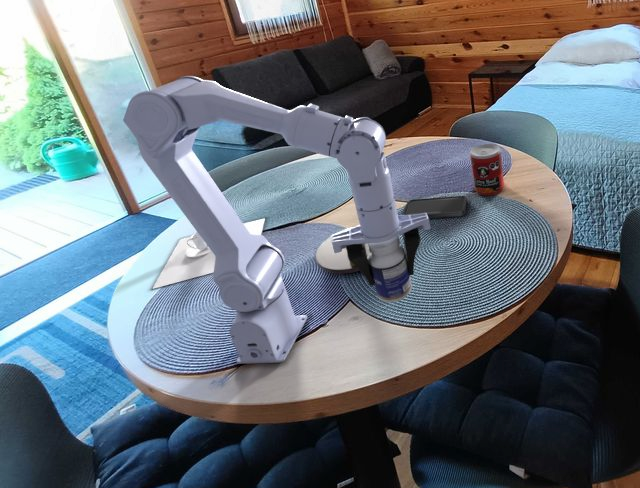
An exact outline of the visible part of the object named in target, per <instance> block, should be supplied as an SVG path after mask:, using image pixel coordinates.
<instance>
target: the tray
mask: <svg viewBox="0 0 640 488" xmlns="http://www.w3.org/2000/svg"><path fill="white" fill-rule="evenodd" d="M356 226H357V225H354V226H351V227H347V228H344V229H342V230H339V231H338V232H336V233H333V234H332V235H330V236H329V237H327V238H326V239H325V240H323V242H322V243H321V244H320V245H319V246H318V247H317V249H316V252H315V260H316V261H315V262H316V264H317V266H318V267H319V268H320V269H321V270H323V271H324V272H326V273H330V274H335V275H343V274H351V273H356V272H359V271H360V270H359V269H358V267H356V266H355V265H354V264H353V263H351V262H350V260H349V259H348V254H347V249H346V248H344V249H342V251H341V252H338V253H334V250H333V246H332V236H333V235H336V234H340V233H342V232H345V231H347V230H350V229H352V228H354V227H356ZM365 248H366V253H367V257H368V261H369V255H370V253H371V252H370V251H369V246H368V243H367V244H365ZM360 272H361V271H360Z"/></svg>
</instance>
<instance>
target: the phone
mask: <svg viewBox="0 0 640 488" xmlns="http://www.w3.org/2000/svg"><path fill="white" fill-rule="evenodd" d="M467 199H468V198H467V196H465V195H457V196H455V195H454V196H444V197H442V196H441V197H427V198H415V199H414V198H413V199H409V200H407V202H406V204H405V206H404V209H403V212H402V215H415V214H422V213H427V215H428V218H429V219H439V218H440V219H441V218H452V217H454V218H455V217H463V216H465V215H466V211H467V203H468V201H467Z"/></svg>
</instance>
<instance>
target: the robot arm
mask: <svg viewBox="0 0 640 488" xmlns="http://www.w3.org/2000/svg"><path fill="white" fill-rule="evenodd" d="M122 121H123V123H124V124H125V125H126V127H127V128H128V129H129V131H130V132H131V133H132V135H133V136H134V137H135V139H136V142H137V146H138V149H139V154H140V156H141V158H142V159H143V161H144V163H145V164H146V165H147V166H148V167H149V169H150V171H151V172H152V173H153V174H154V176H155V177H156V178H157V180H158V181H159V183H160V184H161V185H162V187H163V188H164V189H165V191H166V192H167V193H168V195H169V196H170V197H171V199H172V200H173V201H174V204H176V205H177V207H178V208H179V209H180V211H181V213H182V214H183V215H184V216H185V218H186V219H187V221H188V222H189V223H190V225H191V226H192V227H193V228H194V229H195V231H196V232H198V233H199V235H200V236H201V238H202V239H203V240H204V242H205V243H206V244H207V246H208V247H209V248H210V250H211V251H212V252H213V254H214V255H215V266H214V272H213V273H212V280H213V282H214V284H216V285H217V287H218V290H219V297H220V300H221V301H222V302H223V304H224V305H225V306H227V307H228V308H230V309H231V310H233V311H235V312H236V314H235V317H234V320H233V322H232V324H231V326H230V329H229V336H230V338H231V341H232V343H233V345H234V348H235V350H236V352H237V355H238V357H237V358H236V360H235V362H236V364H238V365H240V364H241V365H242V364H270V363H271V364H273V363H274V364H275V363H283V362H284V361H286V359H287V356H289V353H290V351H291V350H292V348H293V346H294V344H295V342H296V340H297V338H298V337H299V335H300V333H301V332H302V329H303V328H304V326H305V324H306V322H307V320H308V315H305V314H303V315H295V313H294V309H293V306H292V304H291V301H290V298H289V294H288V291H287V289H286V286H285V284H284V280H283V278H284V277H283V274H282V271H283V269H284V267H285V265H286V260H285V256H284V254H283V252H282V251H281V250H280V249H279V248H278V247H276V246H274V245H273V244H271V243H270V242H269V240H267V238H266V236H265V235H263V234H261V235H254V234H250V233H249V231H248V230H247V229H246V227H245V226H244V222H243V221H242V220H241V218H240V217H239V215H238V214H237V212H236V211H235V210H234V208H233V207H232V205H231V204H230V203H229V201H228V199H227V198H226V196H225V195H224V194H223V192H222V191H221V190H220V188H219V187H218V185H217V184H216V182H215V181H214V179H213V178H212V177H211V175H210V174H209V172H208V171H207V169H206V168H205V167H204V165H203V164H202V162H201V161H200V159H199V158H198V156H197V155H196V153H195V152H194V151H193V146H194V143H195V141H196V138H197V135H198V132H199V130H200V129H201V127H204V126H206V125H210V124H213V123H216V122H220V121H222V122H226V123H230V124H233V125H240V126H244V127H248V128H252V129H257V130H262V131H265V132H270V133H274V134H278V135H279V134H280V135H281V136H282V138H283V139H284V141H285V143H286V144H287V145H288V146H290V147H294V148H297V149H300V150H305V151H308V152H312V153H315V154H318V155H322V156H326V157H329V158H332V159H336V160H337V161H338V163H339V164H340V165H341V167H342V168H344V169H345V170H346V171H347V175H348V181H349V186H350V189H351V193H352V197H353V198H352V199H353V201H354V202H353V203H354V207H355V210H356V214H357V218H358V222H359V224H358V225H355V226H356V227H354V226H353V227H354V228H352V229H350V230H347V231H345V232H342V233H340V234H336V235H334V234H332V235H333V236H332V235H331V236H332V246H333V250H334V253H338V252H341V251H342V249H344V248H346V249H347V254H348V259H349V260H350V262H351V263H353V264H354V265H355V266H356V267H358V269H359V270H360V272H361V274H363V276H364V277H365V279H366V281H367V283H368V286H369V287H374V286H375V285H374V280H373V277H372V272H371V268H370V265H369V261H368V257H367V253H366V248H365V244H367V243H380V242H385V241H388V240H390V239H392V238H395V237H397V236H398V237H399V236H402V240H403V241H402V242H403V245H404V250H405V254H406V259H407V264H408V270H409V275H410V276H412V275H413V276H414V274H415V272H414V271H415V269H414V267H415V260H416V255H417V252H418V249H419V247H420V245H421V236H420V232H419V231H420V230H423V231H429V230H431V225H430V224H431V223H430V218H428V215H427V213H422V214H415V215H403V214H401V215H399V213H398V208H397V204H396V199H395V193H394V189H393V184H392V179H391V173H390V169H389V167H388V163H387V158H386V153H385V152H384V148H385V146H386V140H387V135H386V131H385V129H384V127H383V126H382V125H381V124H380V123H379V122H377V121H376V120H373V119H371V118H369V117H368V116H363V117H358V118H356V119H354V117H353V116H350V115H345V117H342V116H339V115H335V114H333V113H329V112H325V111H322V110H320V106H319V105H316V104H313V103H309V104H308V105H307V106H306V105H299V106H297V107H295V108H293V109H290V110H289V109H286V108H283V107H280V106H277V105H275V104H272V103H268V102H265V101H263V100H260V99H258V98H254V97H251V96H249V95H246V94H244V93H241V92H238V91H234V90H232V89H229V88H226V87H224V86H222V85H220V84H219V83H218V82H216V81H214V80H209V79H202V78H200V77H197V76H194V75H184V76H181V77H178V78H177V79H174V80H173V81H171V82H168V83H165V84H163V85H160V86H157V87H156V88H155V87H154V88H152V89H150V90H146V91H141V92H137V93H136V94H135V95H134V96H132V97H131V98H130V99H129V102H128V104H127V107H126V110H125V113H124V116H123V119H122Z"/></svg>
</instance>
